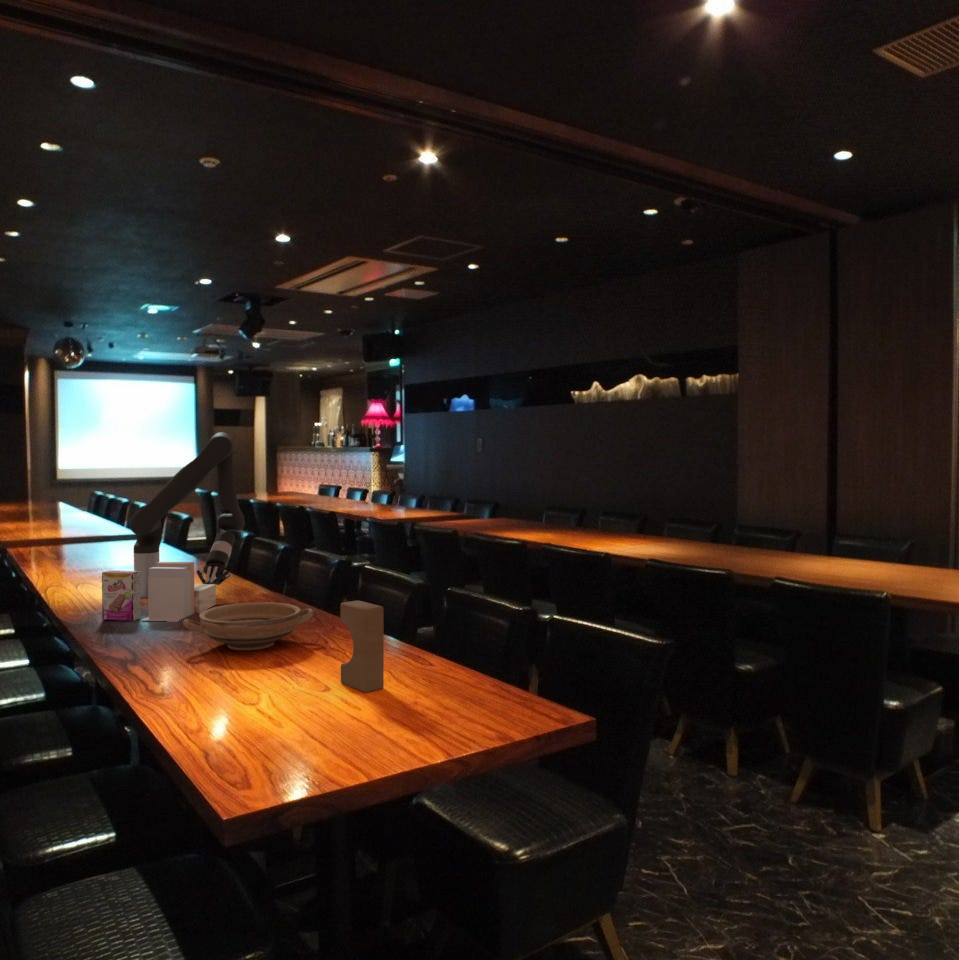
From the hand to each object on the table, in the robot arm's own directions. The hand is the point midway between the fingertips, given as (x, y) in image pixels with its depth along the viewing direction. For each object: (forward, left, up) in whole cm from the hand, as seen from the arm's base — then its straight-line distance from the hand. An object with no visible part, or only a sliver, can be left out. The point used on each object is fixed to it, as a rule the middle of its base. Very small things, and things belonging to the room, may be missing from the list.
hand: (206, 592), depth 290 cm
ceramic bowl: (+37, -57, -5) cm, 69 cm away
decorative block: (+78, -94, -5) cm, 123 cm away
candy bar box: (-18, -27, -5) cm, 33 cm away
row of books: (-4, -22, -4) cm, 23 cm away
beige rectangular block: (0, -8, -5) cm, 9 cm away
